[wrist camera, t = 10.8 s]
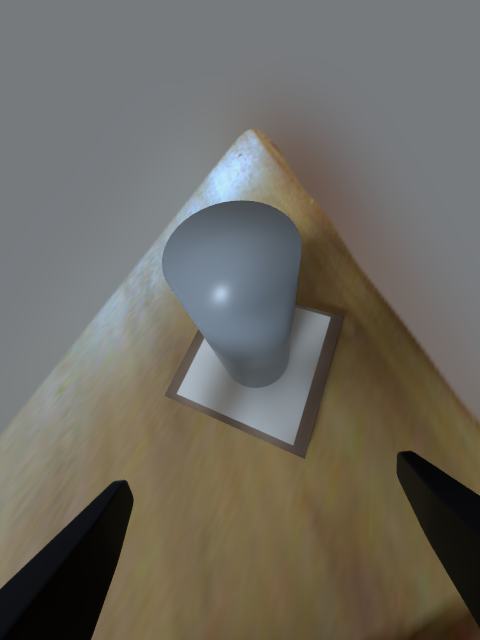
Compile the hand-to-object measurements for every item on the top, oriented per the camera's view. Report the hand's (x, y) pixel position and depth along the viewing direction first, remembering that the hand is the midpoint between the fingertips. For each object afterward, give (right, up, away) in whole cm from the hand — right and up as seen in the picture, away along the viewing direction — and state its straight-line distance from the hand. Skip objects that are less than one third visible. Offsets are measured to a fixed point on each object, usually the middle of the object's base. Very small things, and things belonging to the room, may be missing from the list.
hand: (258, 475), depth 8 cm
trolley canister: (+1, +2, +13) cm, 13 cm away
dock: (+1, +1, +16) cm, 16 cm away
